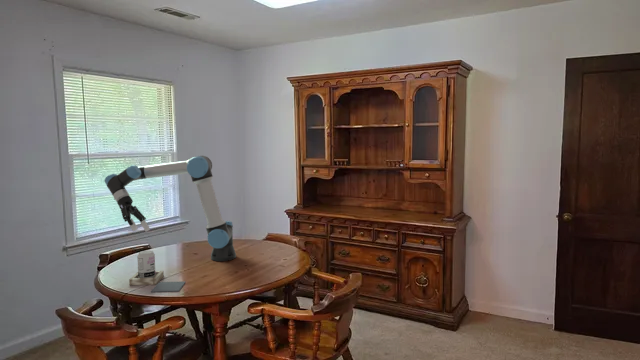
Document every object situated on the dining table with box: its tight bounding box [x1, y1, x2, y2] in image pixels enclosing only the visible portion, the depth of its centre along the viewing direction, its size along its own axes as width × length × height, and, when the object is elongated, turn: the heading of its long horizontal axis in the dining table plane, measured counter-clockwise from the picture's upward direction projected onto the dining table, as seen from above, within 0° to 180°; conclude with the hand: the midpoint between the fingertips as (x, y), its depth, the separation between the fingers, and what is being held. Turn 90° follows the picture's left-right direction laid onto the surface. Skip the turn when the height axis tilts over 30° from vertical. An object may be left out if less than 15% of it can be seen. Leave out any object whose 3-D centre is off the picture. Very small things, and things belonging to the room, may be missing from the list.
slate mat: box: [150, 281, 186, 293], centre depth 208 cm, size 13×13×1 cm
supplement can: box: [136, 250, 156, 278], centre depth 218 cm, size 8×8×15 cm
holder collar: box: [128, 270, 165, 286], centre depth 218 cm, size 13×13×3 cm
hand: (142, 230), depth 233 cm, fingers open, 13 cm apart
